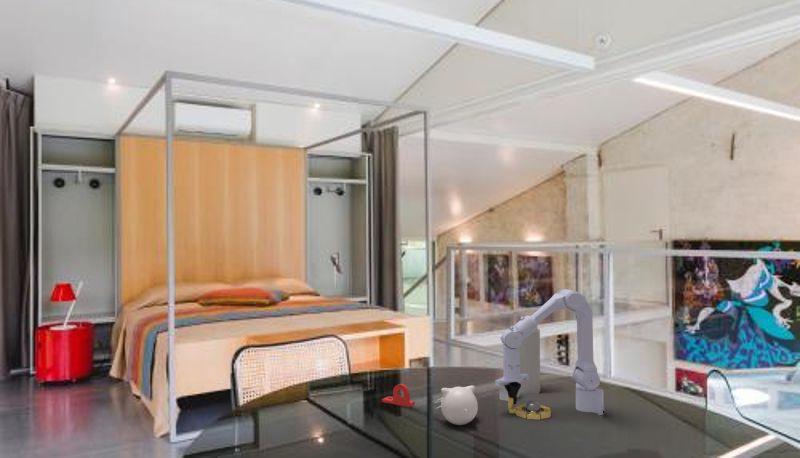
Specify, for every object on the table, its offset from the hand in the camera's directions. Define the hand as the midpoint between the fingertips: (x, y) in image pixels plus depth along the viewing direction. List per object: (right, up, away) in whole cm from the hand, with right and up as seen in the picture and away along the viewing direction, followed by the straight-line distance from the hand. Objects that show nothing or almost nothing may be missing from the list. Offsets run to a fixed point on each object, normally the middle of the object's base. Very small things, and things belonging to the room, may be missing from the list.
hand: (512, 403), depth 196 cm
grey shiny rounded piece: (+6, -4, -3) cm, 8 cm away
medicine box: (+2, -5, +16) cm, 16 cm away
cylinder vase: (+11, -4, +29) cm, 32 cm away
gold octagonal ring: (+5, -3, -3) cm, 6 cm away
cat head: (-19, -4, -8) cm, 22 cm away
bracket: (-40, -5, +16) cm, 43 cm away
